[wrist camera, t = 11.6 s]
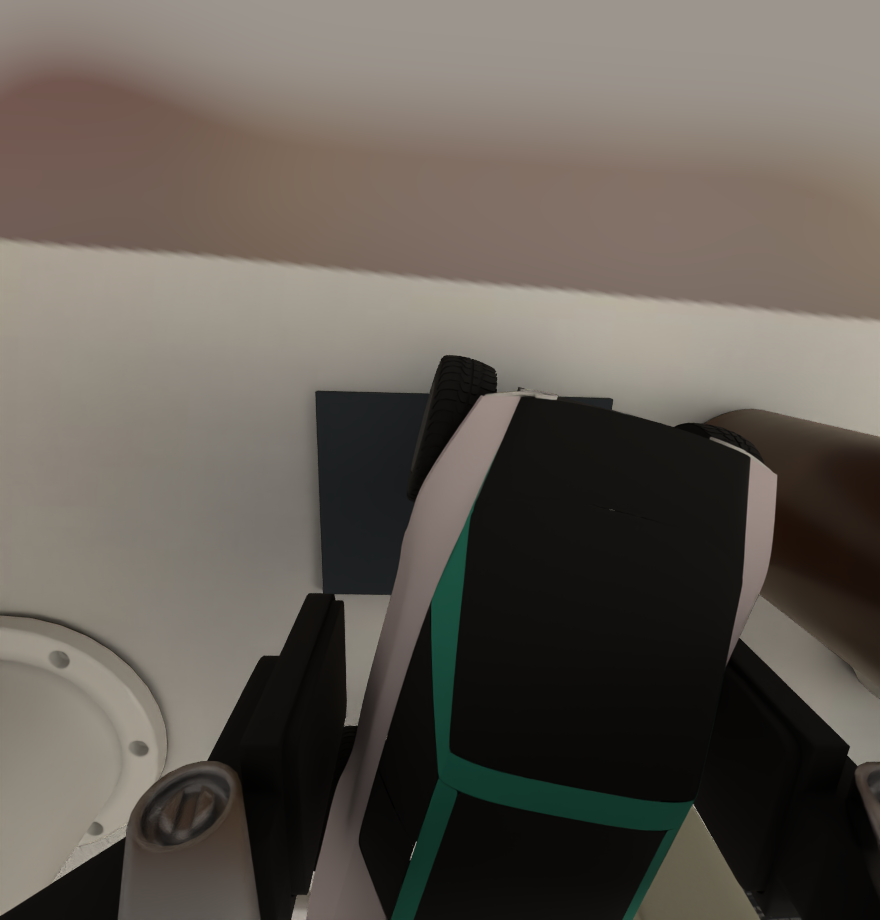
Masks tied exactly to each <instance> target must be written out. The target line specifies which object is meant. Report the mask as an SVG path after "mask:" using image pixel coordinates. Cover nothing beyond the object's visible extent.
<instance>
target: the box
mask: <svg viewBox="0 0 880 920" xmlns="http://www.w3.org/2000/svg"><path fill="white" fill-rule="evenodd" d="M633 920H760V918H759V916H758V915H757V913H756V911H755V909H754V908H753V906H752V904H751V903H750V901H749V899H748V898H747V896H746V894H745V893H744V891H743V889H742V887H741V886H740V885H739V883H738V882H737V880H736V879H735V877H734V875H733V873H732V871H731V870H730V868H729V866H728V864H727V863H726V861H725V859H724V857H723V856H722V854H721V852H720V851H719V849H718V847H717V846H716V844H715V842H714V840H713V839H712V837H711V835H710V834H709V832H708V830H707V829H706V827H705V825H704V824H703V822H702V820H701V819H700V817H699V815H698V814H697V812H696V810H695V809H694V807H693V805H692V807H691V809H690V810H689V812H688V814H687V816H686V818H685V820H684V822H683V824H682V826H681V827H680V829H679V831H678V833H677V835H676V837H675V839H674V841H673V843H672V845H671V847H670V849H669V851H668V853H667V855H666V857H665V858H664V860H663V862H662V864H661V866H660V868H659V870H658V872H657V874H656V876H655V878H654V880H653V882H652V884H651V886H650V888H649V889H648V891H647V893H646V895H645V897H644V899H643V901H642V903H641V905H640V907H639V909H638V911H637V912H636V914H635V916H634V918H633Z"/></svg>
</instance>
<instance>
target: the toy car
mask: <svg viewBox="0 0 880 920" xmlns="http://www.w3.org/2000/svg"><path fill="white" fill-rule="evenodd" d="M495 373H496V371H495V369H494V368H492V367H490V366H488V365H486V364H484V363H482V362H480V361H477V360H474V359H471V358H467V357H462V356H454V355H446V356H444V357H442V358H441V362H440V364H439V365H438V368H437V371H436V374H435V377H434V380H433V383H432V387H431V390H430V394H429V397H428V401H427V404H426V408H425V412H424V415H423V419H422V423H421V427H420V431H419V435H418V439H417V443H416V447H415V451H414V456H413V460H412V465H411V469H410V474H409V480H408V486H407V493H406V494H407V498H408V499H409V500H410V501H412V502H414V503H415V504H414V508H413V511H412V514H411V518H410V521H409V524H408V526H407V529H406V530H405V534H404V538H403V542H402V547H401V555H400V562H399V567H398V572H397V576H396V580H395V584H394V588H393V591H392V595H391V599H390V602H389V606H388V609H387V613H386V616H385V620H384V623H383V627H382V631H381V634H380V638H379V642H378V645H377V649H376V653H375V656H374V660H373V664H372V668H371V671H370V675H369V679H368V683H367V687H366V691H365V695H364V700H363V704H362V708H361V713H360V718H359V723H358V726H345V727H344V728H343V733H342V737H341V742H340V747H339V752H338V756H337V761H336V766H335V770H334V775H333V780H332V785H331V789H330V794H329V799H328V804H327V808H326V813H325V818H324V823H323V827H322V832H321V837H320V841H319V846H318V851H317V856H316V860H315V865H314V870H313V871H315V874H314V879H313V883H312V888H311V893H310V899H309V905H308V912H307V920H633V918H634V916H635V914H636V912H637V911H638V909H639V907H640V905H641V903H642V901H643V899H644V897H645V895H646V893H647V891H648V889H649V888H650V886H651V884H652V882H653V880H654V878H655V876H656V874H657V872H658V870H659V868H660V866H661V864H662V862H663V860H664V858H665V857H666V855H667V853H668V851H669V849H670V847H671V845H672V843H673V841H674V839H675V837H676V835H677V833H678V831H679V829H680V827H681V826H682V824H683V822H684V820H685V818H686V816H687V814H688V812H689V810H690V809H691V807H692V805H693V803H694V801H695V799H696V797H697V794H698V790H699V786H700V782H701V777H702V773H703V769H704V764H705V760H706V756H707V751H708V747H709V742H710V738H711V733H712V729H713V724H714V720H715V715H716V711H717V706H718V702H719V697H720V692H721V687H722V683H723V678H724V673H725V668H726V665H727V663H728V661H729V659H730V656H731V654H732V652H733V650H734V648H735V646H736V643H737V641H738V639H739V637H740V635H741V632H742V630H743V628H744V626H745V624H746V621H747V619H748V617H749V615H750V613H751V611H752V608H753V606H754V604H755V602H756V600H757V597H758V595H759V593H760V591H761V588H762V586H763V583H764V581H765V578H766V574H767V571H768V566H769V562H770V556H771V549H772V541H773V531H774V520H775V505H776V488H777V475H776V474H775V473H773V472H772V471H771V470H770V469H769V468H768V467H766V466H765V464H764V461H763V458H762V456H761V455H760V453H759V451H758V450H757V448H756V447H755V446H754V445H753V444H752V443H751V442H750V441H749V440H747V439H746V438H744V437H742V436H741V435H739V434H737V433H735V432H732V431H730V430H727V429H725V428H722V427H719V426H715V425H709V424H700V423H685V424H680V425H677V426H675V427H671V426H668V425H664V424H661V423H658V422H654V421H650V420H647V419H643V418H639V417H636V416H632V415H629V414H625V413H621V412H617V411H613V410H609V409H605V408H602V407H598V406H594V405H590V404H586V403H583V402H579V401H575V400H570V399H566V398H561V397H558V395H556V394H552V393H548V392H542V391H536V390H527V389H524V388H520V387H518V390H517V391H513V392H501V393H497V389H496V387H497V382H496V381H497V377H496V376H497V373H496V374H495ZM609 509H611V510H609ZM613 510H615V511H613ZM387 735H388V736H387ZM386 737H387V739H386ZM416 841H417V843H416ZM415 843H416V846H415ZM412 845H413V846H412ZM414 846H415V849H414V852H413V855H412V858H411V860H410V857H411V854H412V851H413V848H414Z"/></svg>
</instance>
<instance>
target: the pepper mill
mask: <svg viewBox="0 0 880 920" xmlns="http://www.w3.org/2000/svg"><path fill="white" fill-rule="evenodd" d="M704 424H709V425H715V426H719V427H722V428H725V429H727V430H730V431H732V432H735V433H737V434H739V435H741V436H742V437H744V438H746V439H747V440H749V441H750V442H751V443H752V444H753V445H754V446H755V447H756V448H757V450H758V451H759V453H760V455H761V456H762V458H763V461H764V464H765V466H766V467H768V468H769V469H770V470H771V471H772V472H773V473H775V474H776V475H777V488H776V505H775V520H774V531H773V541H772V549H771V556H770V562H769V566H768V571H767V574H766V578H765V581H764V583H763V586H762V588H761V591H760V593H759V594H760V595H761V596H762V597H764V598H765V599H766V600H767V601H769V602H770V603H771V604H772V605H774V606H775V607H776V608H778V609H779V610H780V611H781V612H783V613H784V614H785V615H787V616H788V617H789V618H790V619H792V620H793V621H794V622H796V623H797V624H798V625H799V626H801V627H802V628H803V629H805V630H806V631H807V632H808V633H810V634H811V635H812V636H814V637H815V638H816V639H817V640H819V641H820V642H821V643H822V644H824V645H825V646H826V647H828V648H829V649H830V650H831V651H833V652H834V653H835V654H837V655H838V656H839V657H840V658H842V659H843V660H844V661H846V662H847V663H848V664H849V665H851V666H852V667H853V668H855V669H856V670H857V671H858V672H860V673H861V674H862V675H863V676H865V677H866V678H867V679H869V680H870V681H871V682H872V683H874V684H875V685H876V686H878V687H879V688H880V437H879V436H874V435H870V434H865V433H861V432H857V431H852V430H848V429H843V428H839V427H835V426H830V425H826V424H821V423H817V422H813V421H808V420H804V419H800V418H795V417H791V416H786V415H782V414H778V413H773V412H769V411H764V410H757V409H744V410H737V411H732V412H729V413H725V414H722V415H720V416H718V417H715V418H713V419H711V420H709V421H708V422H706V423H704Z"/></svg>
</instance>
